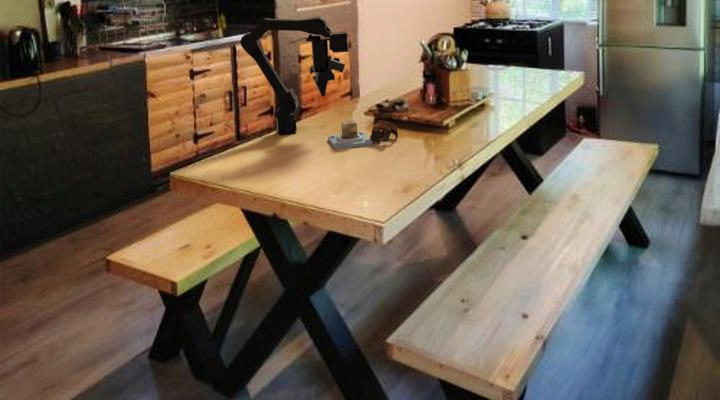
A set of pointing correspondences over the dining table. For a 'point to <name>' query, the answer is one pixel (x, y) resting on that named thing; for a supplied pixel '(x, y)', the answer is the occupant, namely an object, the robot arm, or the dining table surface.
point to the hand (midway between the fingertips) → (323, 96)
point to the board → (349, 141)
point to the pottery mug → (383, 132)
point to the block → (349, 129)
